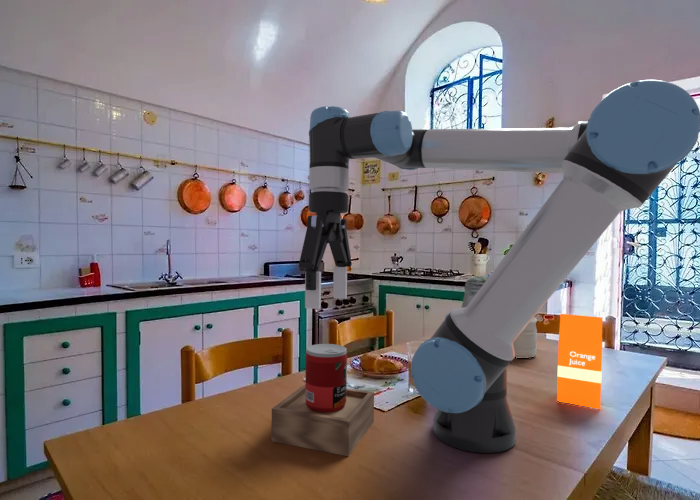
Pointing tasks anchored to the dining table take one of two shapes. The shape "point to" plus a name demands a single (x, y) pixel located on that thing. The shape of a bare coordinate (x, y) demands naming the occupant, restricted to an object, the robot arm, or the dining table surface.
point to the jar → (526, 341)
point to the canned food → (326, 377)
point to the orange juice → (580, 360)
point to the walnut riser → (323, 422)
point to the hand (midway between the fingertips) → (327, 303)
